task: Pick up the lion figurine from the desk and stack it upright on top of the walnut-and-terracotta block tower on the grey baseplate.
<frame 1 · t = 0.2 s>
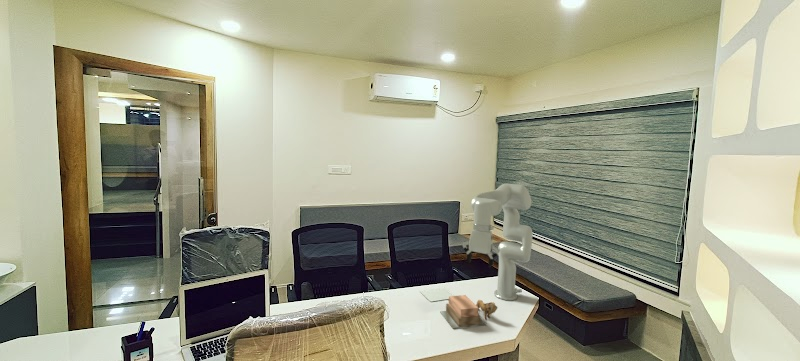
hand: (479, 264, 149), 30 cm above the table, tool pointing down, fingers open, 9 cm apart
lion figurine: (484, 316, 163), on the table
paper stack: (435, 300, 180), on the table
block tower: (462, 318, 159), on the table
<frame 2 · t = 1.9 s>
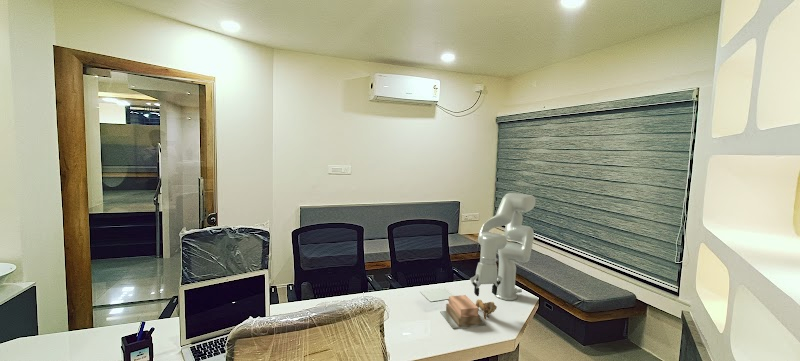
hand: (485, 294, 161), 11 cm above the table, tool pointing down, fingers open, 9 cm apart
nothing on the table moved.
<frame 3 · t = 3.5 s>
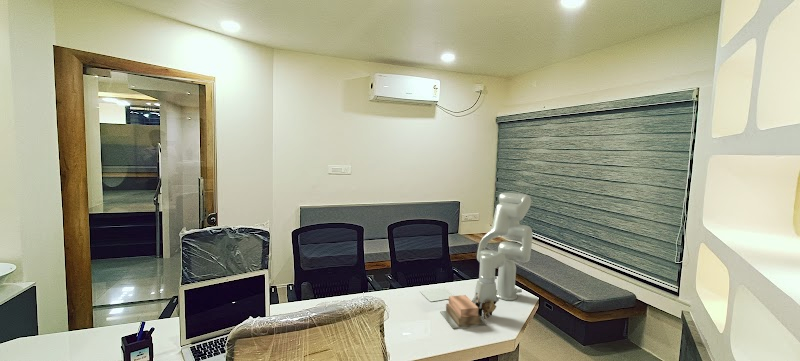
hand: (484, 314, 163), 1 cm above the table, tool pointing down, fingers closed on lion figurine, 4 cm apart
lion figurine: (483, 315, 164), on the table, touching gripper
everything else where it was.
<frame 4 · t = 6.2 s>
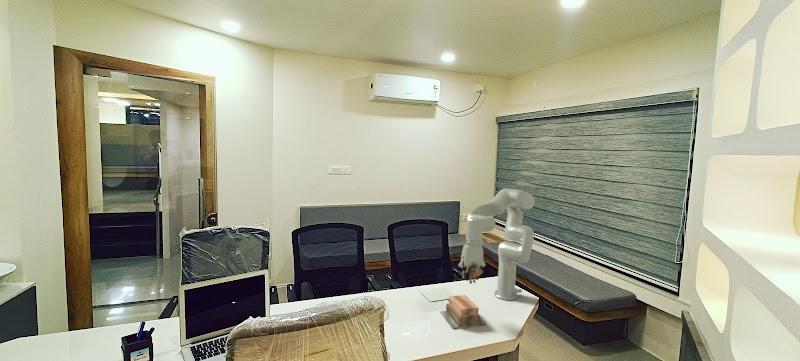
hand: (471, 279, 158), 20 cm above the table, tool pointing down, fingers closed on lion figurine, 4 cm apart
lion figurine: (470, 280, 159), point 19 cm above the table, touching gripper
everything else where it was.
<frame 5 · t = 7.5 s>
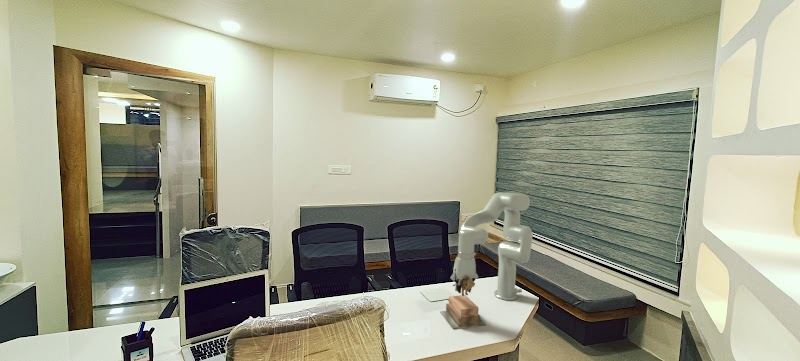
hand: (463, 291, 158), 14 cm above the table, tool pointing down, fingers closed on lion figurine, 4 cm apart
lion figurine: (462, 293, 159), point 13 cm above the table, touching gripper
everything else where it was.
when the fingers open (11 cm above the table, at t = 8.8 s): lion figurine moves 1 cm, resting on block tower.
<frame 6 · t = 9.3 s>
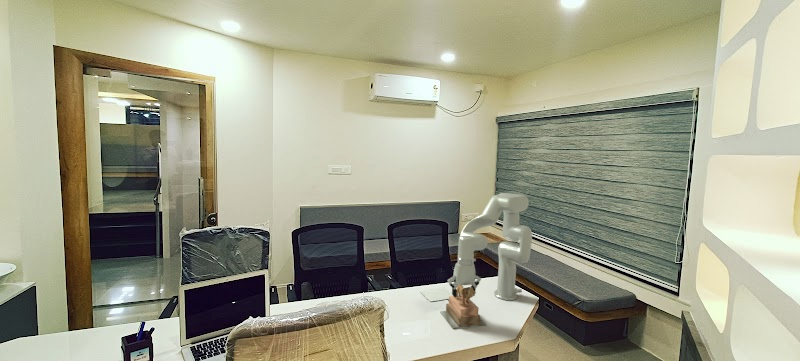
hand: (463, 295, 158), 12 cm above the table, tool pointing down, fingers open, 9 cm apart
lion figurine: (463, 301, 159), point 8 cm above the table, touching block tower
everything else where it was.
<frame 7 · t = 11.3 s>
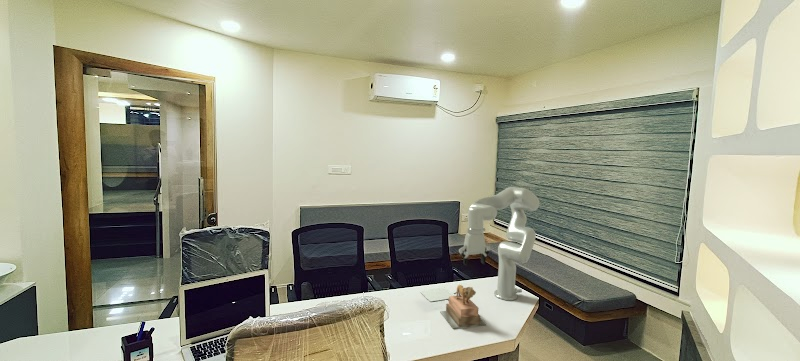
hand: (474, 264, 164), 25 cm above the table, tool pointing down, fingers open, 9 cm apart
nothing on the table moved.
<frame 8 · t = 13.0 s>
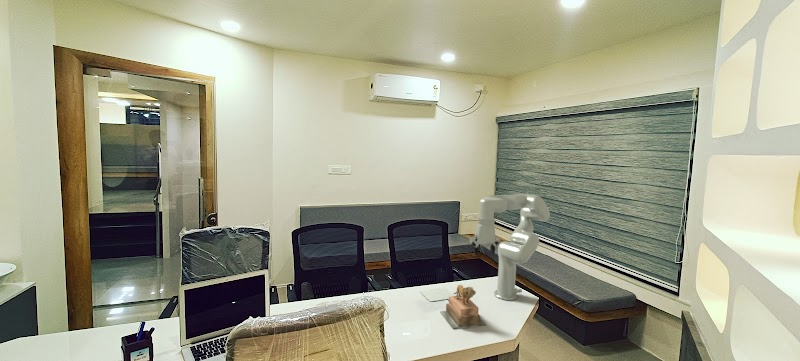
hand: (484, 253, 172), 28 cm above the table, tool pointing down, fingers open, 9 cm apart
nothing on the table moved.
at the end: lion figurine 1.1 cm off-centre on the block tower, point 8.4 cm above the block tower's base; lion figurine tilted 0°; the gripper is holding nothing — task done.
